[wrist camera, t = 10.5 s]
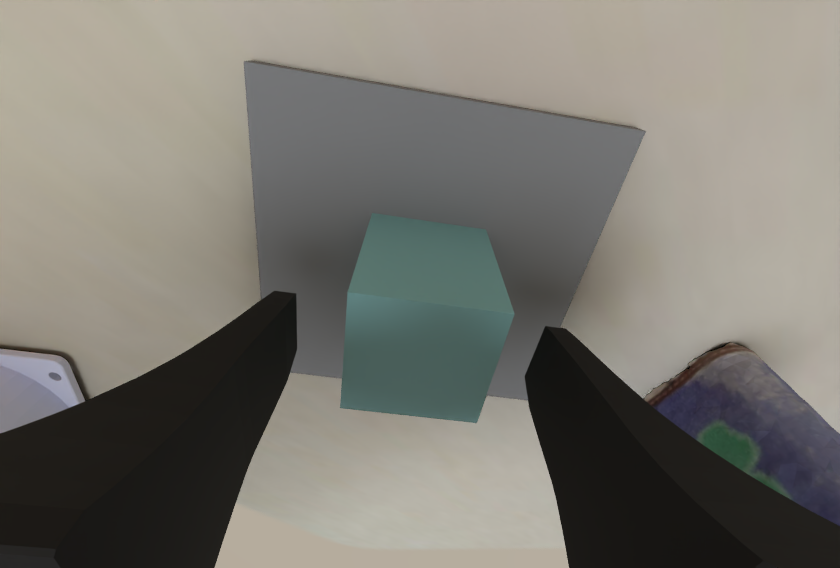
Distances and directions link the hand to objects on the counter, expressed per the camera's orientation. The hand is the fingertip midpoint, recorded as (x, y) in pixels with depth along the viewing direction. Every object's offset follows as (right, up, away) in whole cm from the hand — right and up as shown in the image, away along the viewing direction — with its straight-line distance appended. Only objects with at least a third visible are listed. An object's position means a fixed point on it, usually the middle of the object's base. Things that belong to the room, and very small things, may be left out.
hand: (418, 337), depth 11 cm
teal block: (0, +2, +3) cm, 4 cm away
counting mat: (0, +2, +4) cm, 4 cm away
